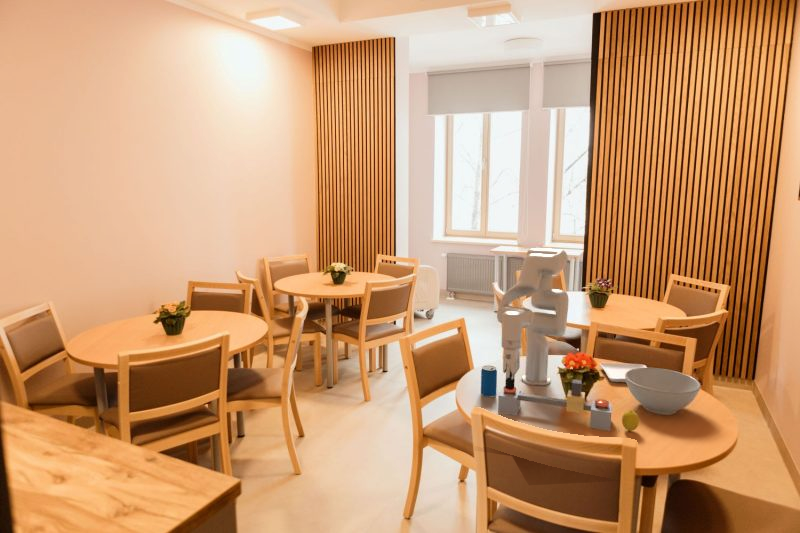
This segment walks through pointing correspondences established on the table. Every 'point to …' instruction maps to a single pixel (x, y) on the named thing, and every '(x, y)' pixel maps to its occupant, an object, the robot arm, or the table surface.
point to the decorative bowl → (662, 389)
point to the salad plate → (618, 370)
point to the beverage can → (488, 381)
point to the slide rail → (512, 405)
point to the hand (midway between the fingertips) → (509, 388)
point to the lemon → (630, 420)
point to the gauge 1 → (510, 391)
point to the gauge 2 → (601, 403)
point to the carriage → (575, 398)
